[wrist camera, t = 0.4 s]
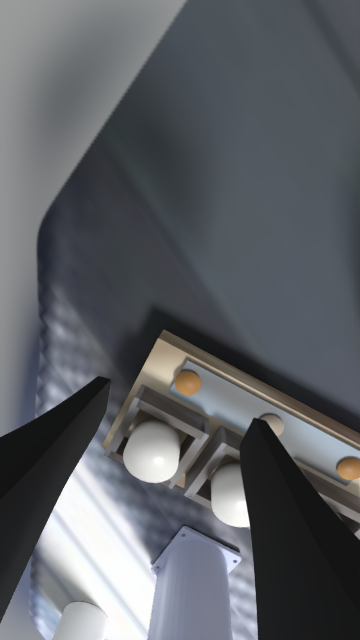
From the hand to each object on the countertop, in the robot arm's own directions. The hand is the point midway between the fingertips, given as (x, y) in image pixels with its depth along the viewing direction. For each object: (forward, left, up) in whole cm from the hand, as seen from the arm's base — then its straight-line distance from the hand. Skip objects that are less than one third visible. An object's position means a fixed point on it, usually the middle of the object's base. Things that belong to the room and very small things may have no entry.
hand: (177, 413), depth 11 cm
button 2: (-8, -1, -7) cm, 11 cm away
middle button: (-8, -9, -7) cm, 14 cm away
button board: (-7, -9, -11) cm, 16 cm away
